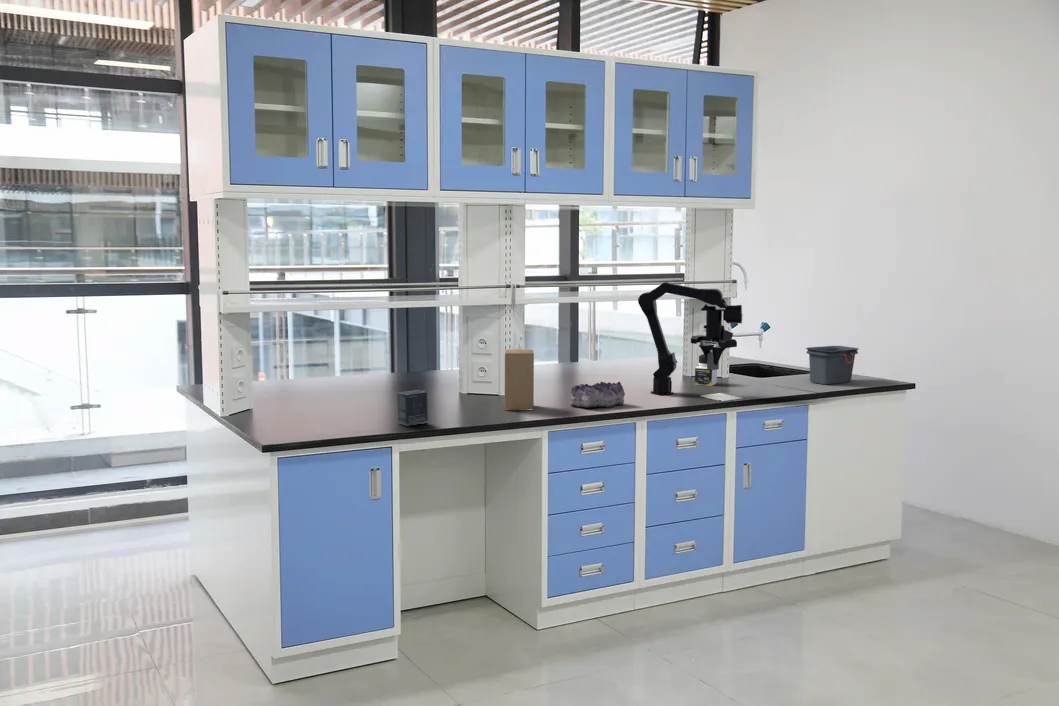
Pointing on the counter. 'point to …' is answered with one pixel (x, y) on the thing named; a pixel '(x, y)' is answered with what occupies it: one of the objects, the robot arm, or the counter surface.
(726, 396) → the notepad
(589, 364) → the counter surface
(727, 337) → the robot arm
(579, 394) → the geode
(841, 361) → the storage bin
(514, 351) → the wooden block
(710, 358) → the grey bottle
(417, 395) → the box
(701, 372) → the medicine bottle
